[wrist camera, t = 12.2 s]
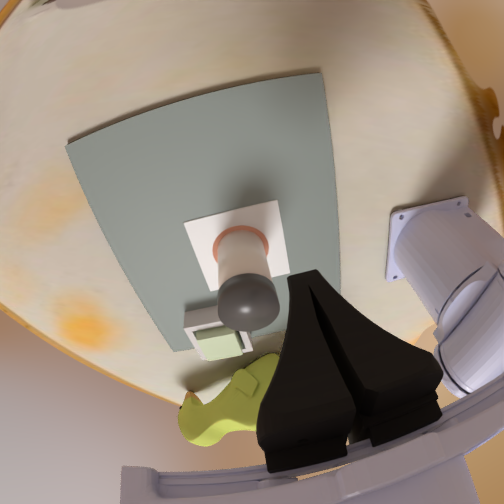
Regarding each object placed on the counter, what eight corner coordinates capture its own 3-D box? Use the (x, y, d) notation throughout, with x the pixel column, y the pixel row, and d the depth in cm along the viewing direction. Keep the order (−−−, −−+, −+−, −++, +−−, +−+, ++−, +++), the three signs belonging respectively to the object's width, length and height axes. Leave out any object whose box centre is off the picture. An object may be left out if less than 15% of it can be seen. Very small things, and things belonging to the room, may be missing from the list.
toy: (278, 297, 36) (160, 393, 35) (367, 387, 23) (198, 503, 21) (299, 323, 40) (191, 410, 38) (379, 405, 26) (234, 506, 24)
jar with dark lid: (260, 223, 22) (275, 282, 17) (268, 263, 25) (283, 324, 19) (210, 234, 22) (210, 296, 17) (222, 273, 25) (226, 336, 19)
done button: (232, 312, 27) (233, 333, 25) (240, 334, 29) (242, 354, 27) (196, 319, 27) (196, 340, 25) (207, 341, 29) (208, 361, 27)
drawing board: (319, 72, 17) (332, 74, 15) (338, 312, 30) (346, 330, 28) (67, 144, 17) (52, 155, 15) (174, 348, 31) (172, 367, 29)
